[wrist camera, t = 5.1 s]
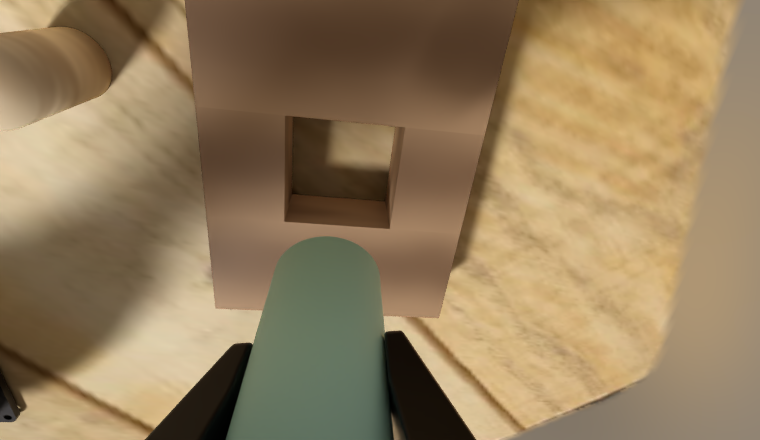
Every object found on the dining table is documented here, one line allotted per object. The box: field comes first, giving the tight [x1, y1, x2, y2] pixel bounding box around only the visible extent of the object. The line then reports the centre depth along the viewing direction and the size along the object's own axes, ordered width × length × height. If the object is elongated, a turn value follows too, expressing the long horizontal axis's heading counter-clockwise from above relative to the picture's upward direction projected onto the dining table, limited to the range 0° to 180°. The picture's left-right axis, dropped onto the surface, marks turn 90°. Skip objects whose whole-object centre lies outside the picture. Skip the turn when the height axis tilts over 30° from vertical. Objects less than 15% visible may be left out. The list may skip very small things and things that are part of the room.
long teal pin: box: [226, 236, 394, 440], centre depth 8 cm, size 3×3×8 cm
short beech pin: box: [0, 27, 112, 131], centre depth 15 cm, size 3×3×5 cm
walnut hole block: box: [185, 0, 519, 318], centre depth 19 cm, size 16×12×3 cm
